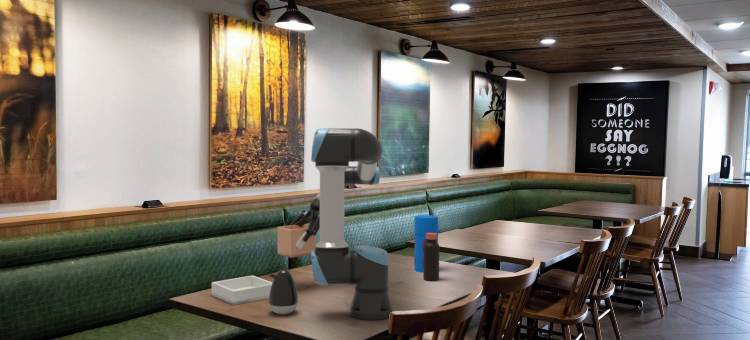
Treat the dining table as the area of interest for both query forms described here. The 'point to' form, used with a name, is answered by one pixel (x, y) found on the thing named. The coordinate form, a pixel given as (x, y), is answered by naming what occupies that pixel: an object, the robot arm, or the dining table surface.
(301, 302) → the dining table surface
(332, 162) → the robot arm
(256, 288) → the white tray
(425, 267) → the bottle
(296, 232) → the terracotta crate
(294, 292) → the pump dispenser
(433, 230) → the thermos
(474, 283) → the dining table surface
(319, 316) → the dining table surface
